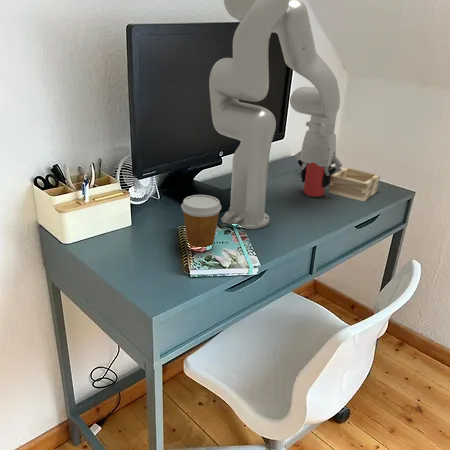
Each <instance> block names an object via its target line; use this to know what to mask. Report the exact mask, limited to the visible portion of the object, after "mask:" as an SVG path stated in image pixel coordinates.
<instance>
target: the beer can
mask: <svg viewBox="0 0 450 450" xmlns="http://www.w3.org/2000/svg"><path fill="white" fill-rule="evenodd" d="M325 174H326V173H325V170H324V167H320V166H318V165H317V164H316V163H314V162H313V163H310V164H307V167H306V175H305V182H304V183H303V184H304V186H303V194H304V195H305V196H308V197H310V198H311V197H312V198H320V197H321V198H322V197H323V196H324V195H325V192H326V191H325V190H326V187H325V188H324V187H322V185H323V178H324V175H325Z"/></svg>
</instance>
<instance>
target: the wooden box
mask: <svg viewBox="0 0 450 450" xmlns="http://www.w3.org/2000/svg"><path fill="white" fill-rule="evenodd" d="M380 177H381V175H380V174H376V173H372V172H368V171H364V170H363V171H362V170H359V169H354V168H352V167H351V168H350V167H344V168H342V169H339V171H338V170H337V171H336V172H334V173H332V174H331V179H330V184H329V185H328V193H329V194H333V195H338V196H341V197H345V198H348V199H353V200H357V201H360V202H365V201H367V200H368V199H370V198H371V197H372V196H373V195H374V194H376V193H377V192H378V189H379V184H380V179H381V178H380Z"/></svg>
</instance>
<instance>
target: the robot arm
mask: <svg viewBox="0 0 450 450" xmlns="http://www.w3.org/2000/svg"><path fill="white" fill-rule="evenodd" d="M223 4H224V8H225V9H226V12H227V13H228V15H229V16H230V17H232V18H233V19H234V20H237V21H239V24H238V26H237V27H236V30H235V32H234V35H233V38H232V57H223V58H221V59H218V61H216V62H215V63H214V65H213V66H212V68H211V70H210V74H209V82H208V86H209V89H208V90H209V98H210V99H209V100H210V111H211V112H210V113H211V119H212V124H213V128H214V129H215V131H216V132H217V133H218V134H220V135H222V136H225V137H227V138H231V139H235V140H238V141H239V142H240V143H239V145H238V147H237V148H236V149H235V151H234V154H233V157H232V165H231V166H232V168H231V188H230V202H229V203H230V206H229V208H228V210H227V211H226V212H225V213H224V215H223V216H221V219H220V220H221V222H222V223H224V224H227V225H229V224H238V225H241V226H243V227H244V228H245V229H244V230H256V229H257V230H258V229H261V228H265V227H266V226H267V225H269V223H270V216H269V214H267V213H266V211H265V208H266V207H265V206H266V196H267V187H268V185H267V184H268V174H269V173H268V172H269V162H270V161H269V160H270V153H271V148H272V147H271V146H272V143H273V139H274V135H275V132H276V126H277V121H276V118H275V115H274V114H273V112H272V111H270V110H269V109H267V108H266V107H263V106H260V105H256V104H252V103H253V102H255V103H256V102H260V101H263V100H264V99H265V98H266V97H267V95H268V92H269V86H270V74H269V73H270V69H269V61H270V60H269V47H270V45H269V44H270V38H271V35H272V33H276V34H277V37H278V39H279V44H280V47H281V52H282V55H283V60H284V62H285V64H286V66H287V67H288V68H290V69H291V70H292V71H294V72H295V73H296V74H298V75H300V76H302V77H303V78H305V79H306V80H307V81H308V82H310V83H311V84H312V85H313V86H300V87H297V88H296V89H295V90H293V91H292V93H291V95H290V98H289V104H290V107H291V108H292V109H293V110H294V112H296V113H299V114H300V113H301V114H305V115H308V116H310V120H309V121H306V123H305V126H306V127H308V130H306V132H305V134H304V137H303V142H302V146H301V150H300V151H299V152H297V153H296V154H294V158H295V159H296V161H297V163H298V165H299V166H300V169H301V176H300V178H301V182H302V183H305V175H306V167H307V164H310V163H313V162H314V163H316V164H317V165H318V166H320V167H324V170H325V173H326V174H325V175H324V178H323V185H322V187H324V188H325V189H326V187H329V186H330V179H331V175H333V174H335V173H336V172H338V170H340V168H342V167H343V164H342V162H341V161H340V159H339V158H338V157H337V155H336V154H337V135H336V133H335V129H336V123H337V122H336V121H337V115H338V112H339V110H340V105H341V96H340V89H339V83H338V79H337V77H336V75H335V73H334V72H333V71H332V69H331V68H330V67H329V65H328V64H327V63H326V62H325V60H324V59H323V58H322V57H321V56H320V55H319V54H318V52H317V50H316V45H315V40H314V36H313V31H312V25H311V22H310V20H311V19H310V16H309V13H308V12H309V11H308V8H307V5H306V4H305V2H304V1H302V0H223ZM239 100H241V101H239ZM242 101H245V102H242ZM246 102H247V103H246ZM248 102H252V103H248ZM332 165H334V167H332Z"/></svg>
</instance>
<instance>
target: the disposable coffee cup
mask: <svg viewBox="0 0 450 450" xmlns="http://www.w3.org/2000/svg"><path fill="white" fill-rule="evenodd" d="M180 207H181V210H182V212H183V219H184V227H185V236H186V243H187V242H188V243H189V244H190V245H192V246H195V247H207V246H210V245H212V244H213V245H214V243H213V242H215V235H216V232H217V226H218V221H219V215H220V211H221V210H222V205H221V202H220V200H219V199H218V198H217V197H215V196H213V195H207V194H193V195H190V196H189V195H188V196H186V197H185V198H184V199H183V201H182V203H181V206H180Z"/></svg>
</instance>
